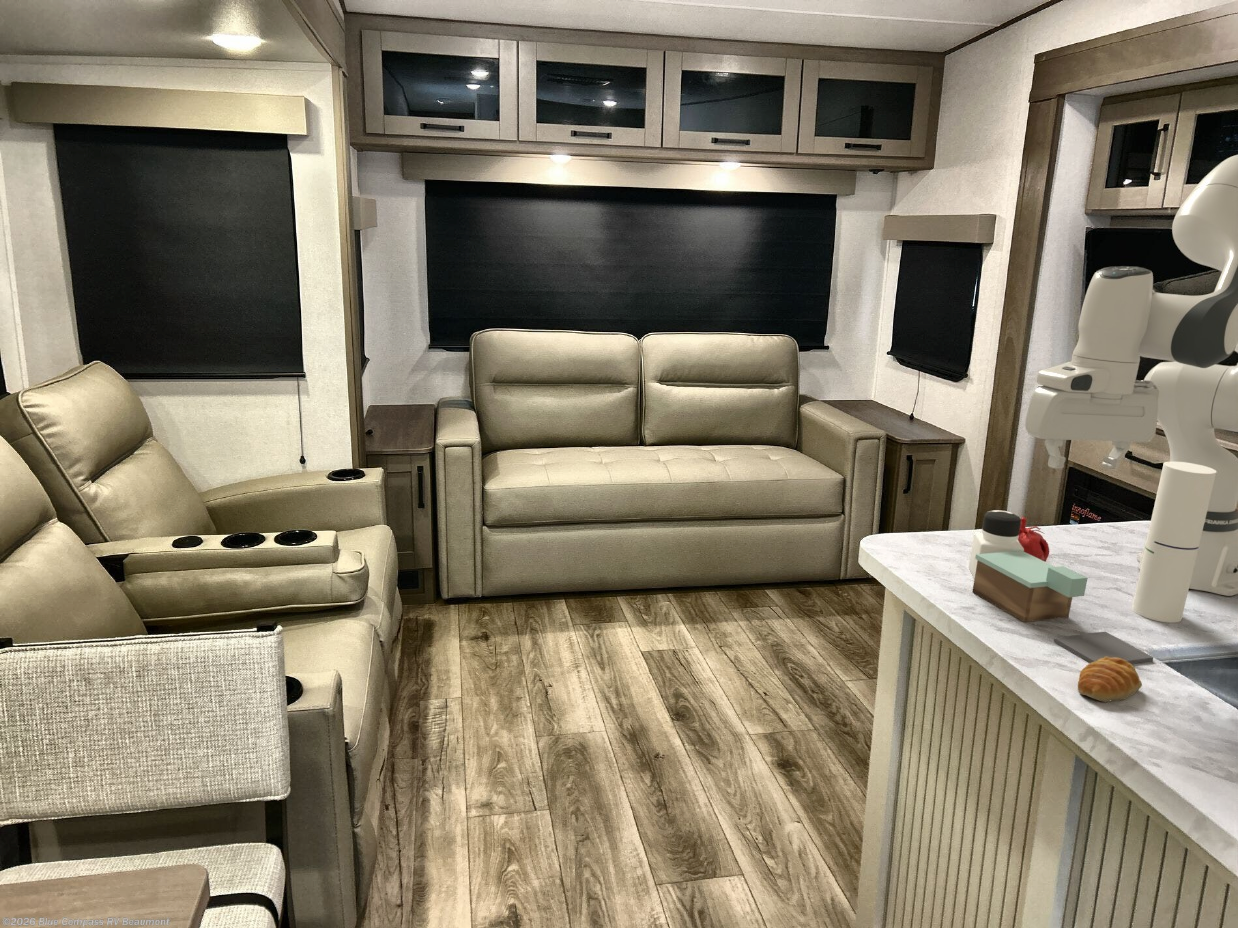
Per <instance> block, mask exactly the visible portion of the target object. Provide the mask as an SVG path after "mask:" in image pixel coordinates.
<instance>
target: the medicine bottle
mask: <svg viewBox="0 0 1238 928" xmlns="http://www.w3.org/2000/svg"><path fill="white" fill-rule="evenodd" d="M1020 526H1021V517H1020V516H1019V515H1016V514H1014V513H1013V512H1010V511H1006V510H998V509H997V510H996V509H995V510H990V511H987V512H986V513H984V515H983V521H982V527H981V532H980V531H975V532H974V534H973V539H972V545H971V550H970V557H969V561H968V569H969V571H970V573H971V576H972V578H973V579H975V573H976V567H977V561H978V560H977V559H975V557H976V554H985V553H997V552H1009V551H1021V550H1022V551H1024V548H1023V547H1022V546H1021V544H1020V543H1019V541H1018V540H1017V539H1018V537H1019V531H1020Z"/></svg>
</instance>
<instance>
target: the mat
mask: <svg viewBox="0 0 1238 928" xmlns="http://www.w3.org/2000/svg"><path fill="white" fill-rule="evenodd" d="M1052 642H1053V643H1055V644H1057V645H1059V646H1060V647H1062V648H1063V649H1065V650H1067V651H1069V652H1070V653H1073V654H1074V655H1076V656H1077V657H1078V658H1081V659H1082V660H1084V661H1086V662H1087V663H1089V664H1090V663H1092V662H1094V661H1098V659H1100V658H1104V657H1106V656H1107V657H1110V658H1114V657H1117V658H1121V659H1123V660H1126V661H1128V662H1129V663H1130V664H1132V665H1133V664H1141V663H1146V662H1147V663H1148V662H1153V661H1154V656H1152V655H1150V654H1148V653H1147V652H1144V651H1142V650H1140V649H1138V648H1137V647H1135V646H1134V645H1132V644H1129V642H1126V641H1125V640H1122V639H1120V638H1118V637H1117V636H1114V635H1113V634H1112V633H1109V632H1107V631H1100V632H1099V631H1098V632H1090V633H1083V634H1081V633H1080V634H1075V635H1066V636H1059V637H1054V638H1053V641H1052Z"/></svg>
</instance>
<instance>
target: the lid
mask: <svg viewBox="0 0 1238 928" xmlns="http://www.w3.org/2000/svg"><path fill="white" fill-rule="evenodd" d="M975 559H977V560H978V561H980V562H982V563H984V564H986V565H988V566H990V567H992V568H994V569H995V570H997V571H999V572H1001V573H1003V574H1005V575H1007V576H1009V577H1010V578H1012V579H1014V580H1016V581H1018V582H1020V583H1022V584H1024V585H1026V586H1027V587H1029V588H1035V587H1045V586H1047V587H1049V588H1051V589H1053V590H1055V591H1057V592H1059V593H1061V594H1063V595H1065V596H1067V597H1072V598H1076V597H1077V598H1078V597H1085V593H1086V589H1087V584H1088V583H1087V582H1088V578H1089V577H1087V576H1085V575H1083V574H1080V573H1079V572H1077V571H1075V570H1073V569H1070V568H1069V567H1066V566H1064V565H1062V566H1061V565H1060V566H1054V565H1053V564H1051V563H1048V562H1047V561H1046V562H1044V561H1042V560H1040V559H1038V558H1036V557H1034V556H1032V555H1030V554H1028V553H1026V552H1024V551H1022V550H1021V551H1009V552H997V553H985V554H976V557H975Z"/></svg>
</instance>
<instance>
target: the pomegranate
mask: <svg viewBox="0 0 1238 928" xmlns="http://www.w3.org/2000/svg"><path fill="white" fill-rule="evenodd" d="M1020 519H1021V526H1020V531H1019V537H1018V539H1017V540H1018V541H1019V543H1020V544H1021V546H1022V547H1023V548H1024V552H1026V553H1028V554H1030V555H1032V556H1034V557H1036V558H1038V559H1040V560H1042V561H1044V562H1046V563H1047V560H1048V558H1049V556H1050V546H1049V544H1048V542H1047V540H1046V539H1045V538H1044V537H1043V535H1042V534H1045V532H1043V531H1041V529H1042V528H1041V527H1040V528H1039V527H1038V526H1036V525H1035V526H1031V527H1026V525H1027V517H1025V516H1023V517H1020ZM1039 532H1040V533H1042V534H1040V533H1039Z"/></svg>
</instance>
